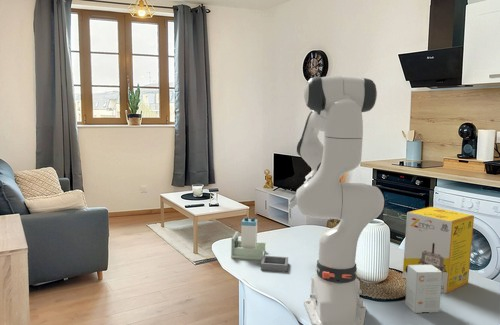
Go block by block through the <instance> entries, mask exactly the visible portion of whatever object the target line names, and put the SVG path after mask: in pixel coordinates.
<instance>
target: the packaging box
mask: <svg viewBox="0 0 500 325" xmlns="http://www.w3.org/2000/svg"><path fill="white" fill-rule="evenodd" d="M474 221H475V215H473V214H469V213H463V212H458V211H453V210H450V209H449V210H448V209H445V208H439V207H436V206H435V207H434V206H427V207H423V208H420V209H414V210H411V211H407V213H406V222H405V224H406V225H405V237H404V239H405V240H404V253H403V266H402V268H403V269H402V279H404V278H406V279H405V280H407V269H408V265H433V266H434V267H436V268H437V269H439V270H440V271H442V281H441V294H445V293H446V294H448V293H450V292H452V291H455V290H456V289H458V288H460V287H463V286H464V285H467V284H468V283H469V276H470V267H471V265H470V264H471V253H472V242H473V232H474Z"/></svg>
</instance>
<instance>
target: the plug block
mask: <svg viewBox="0 0 500 325" xmlns="http://www.w3.org/2000/svg"><path fill="white" fill-rule="evenodd" d="M240 225H241V230H240V231H241V232H240V233H241V234H240V235H241V236H240V241H241V248H255V249H257V242H258V219H257V218H255V217H250V218H249V216H248V217H247V216H244V217H243V219H242V220H241V224H240Z"/></svg>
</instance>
